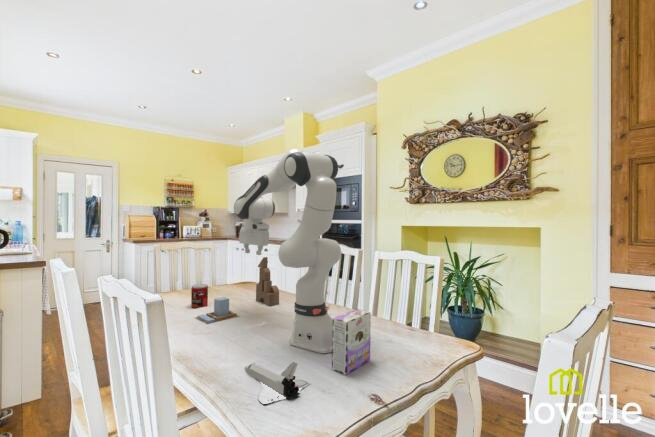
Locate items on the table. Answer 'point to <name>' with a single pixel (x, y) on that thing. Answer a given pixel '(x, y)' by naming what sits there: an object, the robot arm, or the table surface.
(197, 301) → the canned food
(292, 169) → the robot arm
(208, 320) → the plate
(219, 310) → the block
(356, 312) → the candy box
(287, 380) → the space shuttle model
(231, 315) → the tray
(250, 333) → the table surface
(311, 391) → the table surface
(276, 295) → the wooden toy
